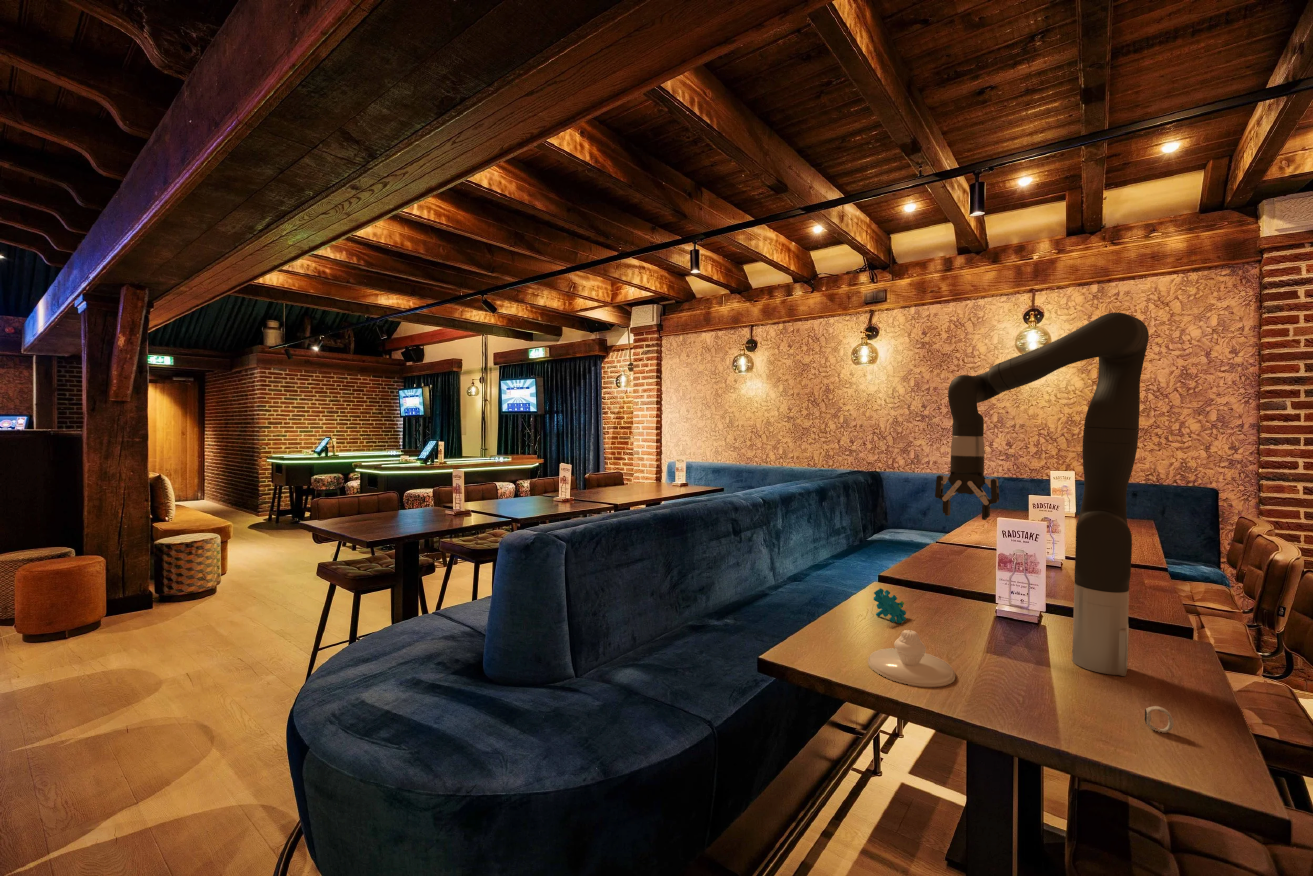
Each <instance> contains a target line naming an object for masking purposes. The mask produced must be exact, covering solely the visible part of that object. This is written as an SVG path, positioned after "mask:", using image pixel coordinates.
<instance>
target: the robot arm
mask: <svg viewBox="0 0 1313 876" xmlns="http://www.w3.org/2000/svg"><path fill="white" fill-rule="evenodd" d="M1149 333H1150V332H1149V329H1148V327H1147V325H1146V323H1144V322H1143V320H1141V319H1139V318H1138V317H1135V316H1133V315H1131V314H1128V313H1125V312H1109V313H1106V314H1103V315H1100V316H1098V317H1097V318H1095V319H1093V320H1091V321H1089V322H1087V323H1086V324H1083V325H1082V326H1081V327H1079V328H1077V329H1075V330H1074V331H1072V332H1069V333H1068V334H1066V335H1064V336H1061V337H1060V338H1058V339H1056V340H1053V341H1051V342H1049V343H1047V344H1044V345H1042V346H1039V347H1038V348H1035V349H1032V350H1030V351H1028V352H1024V353H1021V354H1019V355H1017V356H1014V357H1010V358H1009V359H1006V360H1004V361H1001V362H999V363H996V364H994V365H992V366H991V367H989V370H987V371H985V372H983V373H980V374H976V375H968V374H962V375H958V376H956V377H954V378H953V379H952V380H951V381H950V383H949V385H948V391H947V397H948V404H949V409H950V413H951V417H952V425H951V426H952V428H951V429H952V430H951V431H952V432H951V435H952V436H951V443H950V470H949V472H950V473H949V475H948V476H946V475H943V474H940V475H937V476H936V480H935V490H934V493H935V494H934V497H935V498H936V499H939V500H941V501H942V513H943V514H944V515H945V516H946V517H949V516H951V499H952V498H953V497H954V496H955V495H956V493H958V494H962V495H963V494H966V495H976V497H977V498H978V499H979V500H980V501H981V502H982V503H983V504H982V506H981V520H983V521H986V520H988V519H989V518H990V516H991V505H993V504H996V503H999V502H1000V489H999V488H1000V487H999V485H1000V484H999V483H1000V481H999V479H998V478H986V477H985V454H986V450H985V439H984V436H985V435H984V434H985V433H984V431H985V420H984V416H983V415H982V414H981V413H979V409H978V404H979V403H982V402H985V401H988V400H991V399H993V398H995V397H997V396H999V395H1000V394H1002V393H1005V392H1007V391H1011V390H1014V389H1017V388H1021V387H1022V386H1026V385H1028V384H1031V383H1033V382H1036V381H1039V380H1040V379H1043V378H1045V377H1046V376H1048V375H1050V374H1052V373H1054V372H1055V371H1057V370H1059V369H1061V368H1064V367H1067V366H1069V365H1070V366H1071V365H1072V364H1075V363H1078V362H1082V361H1086V360H1091V359H1094V358H1096V359H1097V358H1098V377H1097V378H1098V379H1097V383H1096V387H1095V390H1094V393H1093V396H1092V398H1091V401H1090V403H1089V405H1088V408H1087V411H1086V414H1085V417H1084V421H1083V422H1084V424H1083V432H1082V433H1083V434H1082V469H1083V479H1084V480H1083V481H1084V482H1083V484H1084V485H1083V486H1084V487H1083V497H1082V503H1081V507H1080V512H1079V515H1078V520H1077V521H1076V522H1077V523H1076V525H1075V558H1074V559H1075V561H1074V582H1073V583H1074V585H1073V589H1074V591H1073V622H1072V652H1071V653H1072V656H1071V657H1072V659H1071V660H1072V662H1073V663H1074V664H1075V665H1076V666H1078V667H1080V668H1083V669H1086V670H1088V671H1093V672H1095V673H1100V674H1105V675H1106V674H1107V675H1114V676H1122V677H1126V676H1127V671H1128V662H1129V661H1128V659H1129V658H1128V656H1129V633H1130V632H1129V627H1130V624H1129V602H1130V601H1129V599H1130V582H1131V575H1132V574H1131V573H1132V571H1131V570H1132V553H1133V549H1132V548H1133V537H1132V532H1131V529H1130V527H1129V524H1128V515H1127V513H1128V512H1127V494H1128V493H1127V491H1128V485H1129V482H1130V479H1131V476H1132V472H1133V469H1134V466H1135V461H1136V456H1137V451H1138V443H1139V431H1140V412H1141V411H1140V405H1141V395H1140V393H1141V389H1140V388H1141V377H1142V372H1143V367H1144V363H1145V361H1144V360H1145V358H1146V352H1147V348H1148V343H1149V338H1150V335H1149ZM947 482H948V483H949V484H950V485H951V487H950V489H949V490H947V491H946V493H945V494H944V487H945V486H944V485H945V484H947ZM985 484H987V486H988V487H989V488H990V494H991V498H989V496H988V495H987V493H986V492H985V491H984V489H983V486H985Z"/></svg>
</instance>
